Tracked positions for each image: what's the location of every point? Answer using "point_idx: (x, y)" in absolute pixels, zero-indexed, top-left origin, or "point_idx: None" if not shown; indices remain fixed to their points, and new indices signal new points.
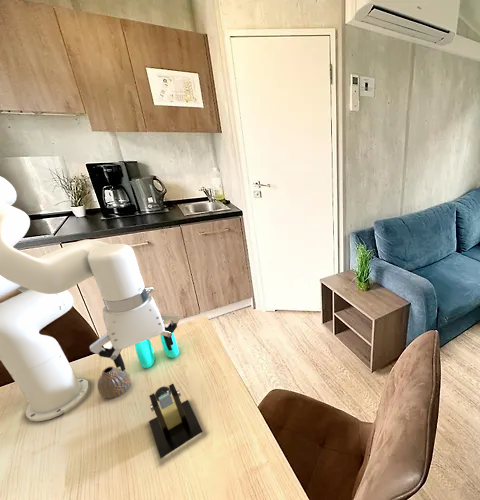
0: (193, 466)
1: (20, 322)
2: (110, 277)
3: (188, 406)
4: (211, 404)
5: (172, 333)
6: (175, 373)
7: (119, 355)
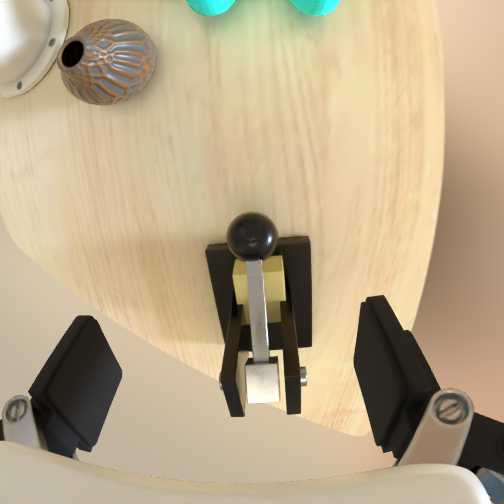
0: None
1: None
2: None
3: (305, 267)
4: (353, 277)
5: None
6: (297, 77)
7: (76, 431)
